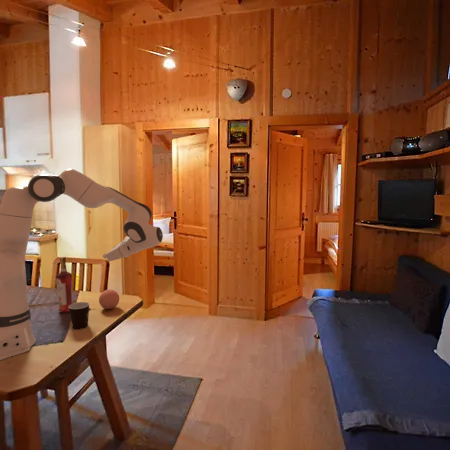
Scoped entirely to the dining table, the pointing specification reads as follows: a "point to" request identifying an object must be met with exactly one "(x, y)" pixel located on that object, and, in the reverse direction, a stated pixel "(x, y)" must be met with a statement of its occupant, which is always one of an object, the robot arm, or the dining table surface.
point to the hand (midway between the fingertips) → (109, 252)
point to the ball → (109, 299)
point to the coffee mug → (79, 315)
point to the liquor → (64, 287)
